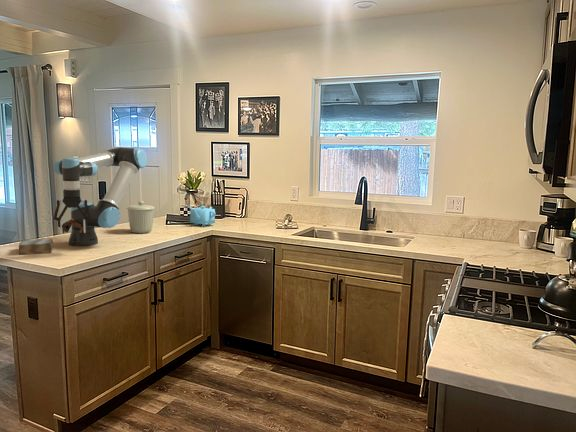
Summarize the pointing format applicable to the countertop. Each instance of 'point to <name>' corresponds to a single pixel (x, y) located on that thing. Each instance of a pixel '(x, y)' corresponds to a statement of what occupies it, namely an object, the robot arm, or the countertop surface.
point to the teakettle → (202, 215)
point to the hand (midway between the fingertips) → (73, 232)
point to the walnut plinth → (35, 246)
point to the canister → (141, 217)
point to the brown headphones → (69, 223)
